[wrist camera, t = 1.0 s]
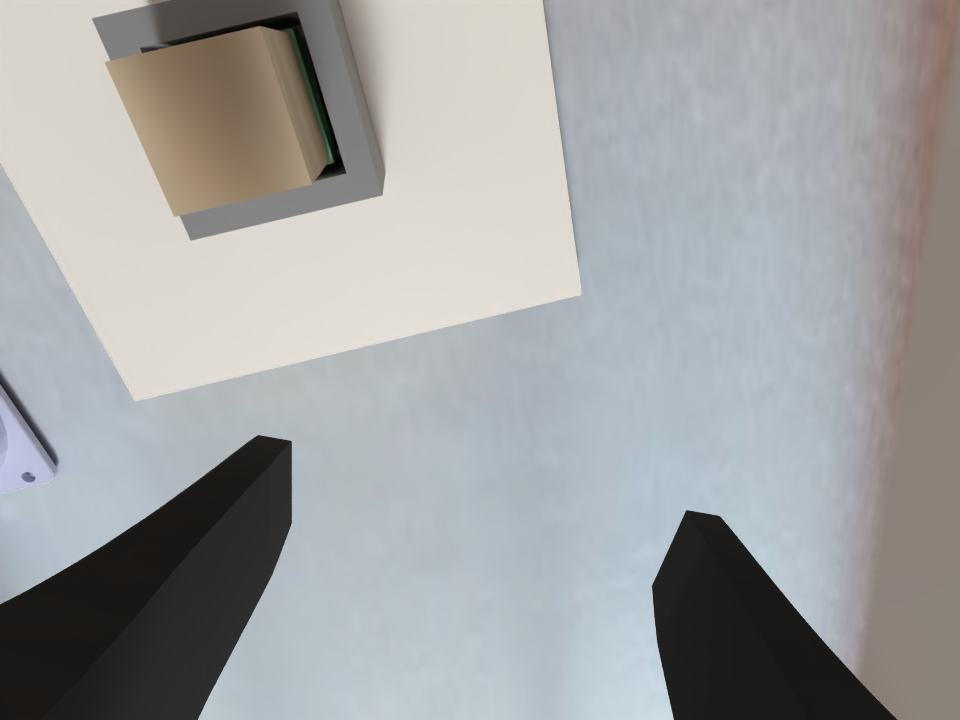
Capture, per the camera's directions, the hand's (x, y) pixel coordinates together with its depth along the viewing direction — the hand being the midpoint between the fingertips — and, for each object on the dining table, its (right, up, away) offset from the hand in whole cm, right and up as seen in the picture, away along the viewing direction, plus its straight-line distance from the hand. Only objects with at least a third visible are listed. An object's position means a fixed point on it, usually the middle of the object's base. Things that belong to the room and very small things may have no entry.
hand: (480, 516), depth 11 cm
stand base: (-7, +12, +9) cm, 16 cm away
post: (-7, +11, +8) cm, 15 cm away
